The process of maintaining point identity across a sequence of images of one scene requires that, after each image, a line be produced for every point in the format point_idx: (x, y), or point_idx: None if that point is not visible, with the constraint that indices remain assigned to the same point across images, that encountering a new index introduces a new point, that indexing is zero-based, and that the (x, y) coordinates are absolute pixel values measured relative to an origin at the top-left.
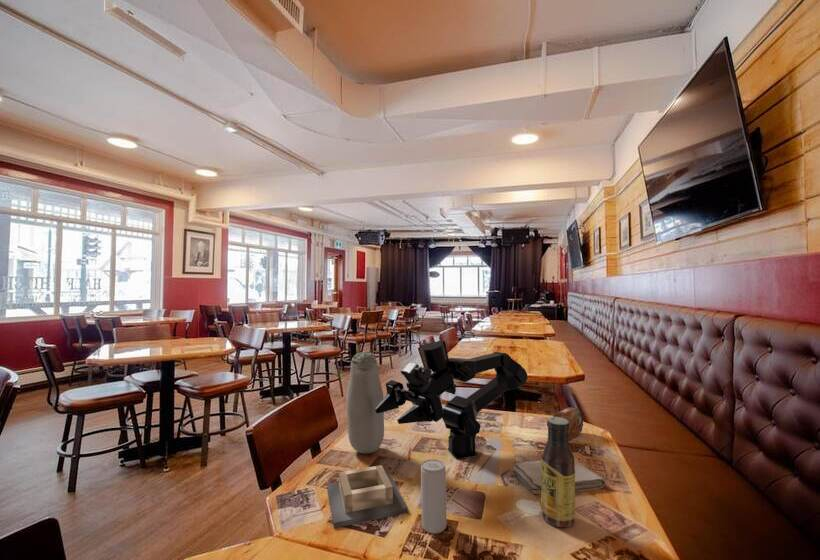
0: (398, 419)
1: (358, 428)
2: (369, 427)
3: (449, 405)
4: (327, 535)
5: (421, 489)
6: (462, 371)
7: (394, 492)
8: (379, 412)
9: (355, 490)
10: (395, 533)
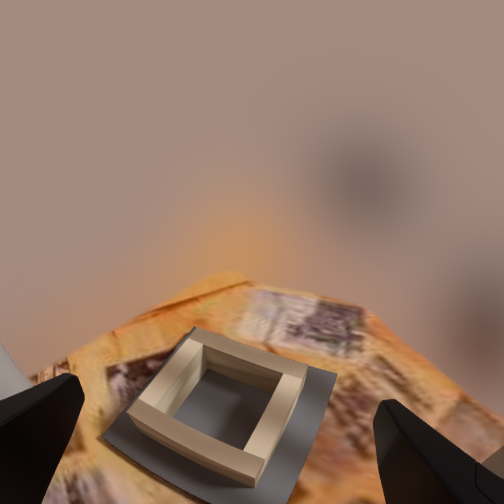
0: (66, 373)
1: (498, 456)
2: None
3: None
4: (189, 320)
5: (18, 367)
6: None
7: (171, 468)
8: (375, 444)
9: (194, 349)
10: (94, 383)
